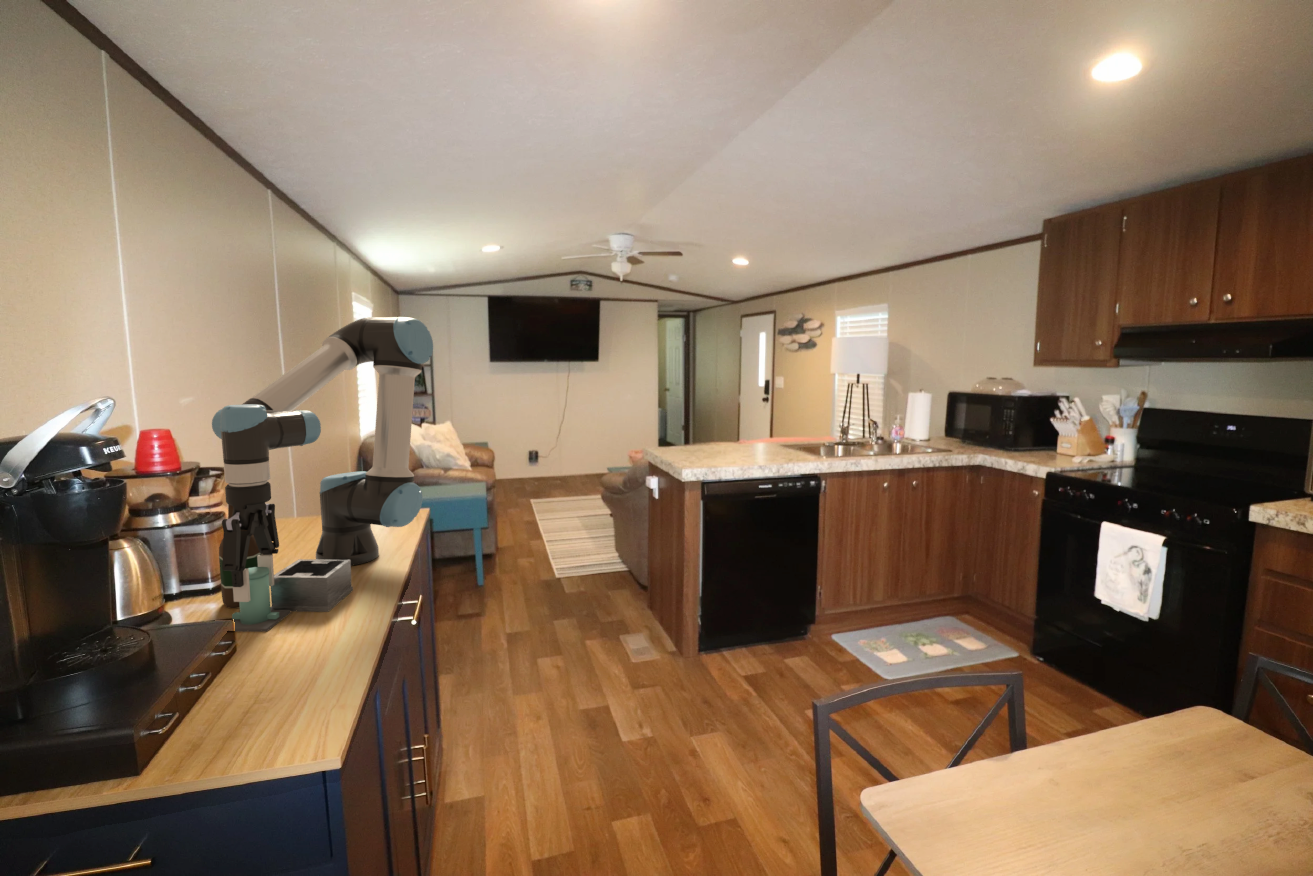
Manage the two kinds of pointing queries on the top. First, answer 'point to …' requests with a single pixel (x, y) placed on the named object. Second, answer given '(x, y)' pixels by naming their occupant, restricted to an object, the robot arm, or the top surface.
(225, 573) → the beer bottle
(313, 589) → the grey storage bin
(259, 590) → the green upright cylinder
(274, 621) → the pad
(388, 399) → the robot arm
